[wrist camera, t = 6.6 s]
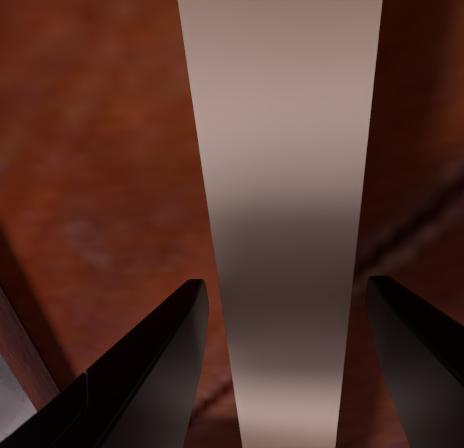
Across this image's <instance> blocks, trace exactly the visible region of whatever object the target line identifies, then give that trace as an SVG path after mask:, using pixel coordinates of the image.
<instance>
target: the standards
mask: <svg viewBox="0 0 464 448" xmlns="http://www.w3.org/2000/svg"><path fill="white" fill-rule="evenodd" d="M59 393H60V391H59V390H58V388H57V386H56V384H55V382H54V381H53V379H52V377H51V375H50V374H49V372H48V370H47V368H46V366H45V365H44V363H43V361H42V359H41V358H40V356H39V354H38V352H37V350H36V349H35V347H34V345H33V343H32V341H31V340H30V338H29V336H28V334H27V333H26V331H25V329H24V327H23V325H22V324H21V322H20V320H19V318H18V316H17V315H16V313H15V311H14V309H13V308H12V306H11V304H10V302H9V300H8V299H7V297H6V295H5V293H4V292H3V290H2V288H1V286H0V441H1V440H2V439H3V438H5V437H6V436H7V435H9V434H10V433H11V432H13V431H14V430H15V429H16V428H18V427H19V426H20V425H21V424H23V423H24V422H25V421H26V420H28V419H29V418H30V417H31V416H33V415H34V414H35V413H36V412H38V411H39V410H40V409H41V408H43V407H44V406H45V405H46V404H47V403H49V402H50V401H51V400H52V399H53V398H54V397H56V396H57V395H58V394H59Z"/></svg>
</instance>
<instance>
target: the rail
mask: <svg viewBox="0 0 464 448" xmlns="http://www.w3.org/2000/svg"><path fill="white" fill-rule="evenodd" d="M178 4H179V11H180V18H181V25H182V32H183V39H184V46H185V53H186V59H187V66H188V73H189V80H190V87H191V94H192V101H193V108H194V115H195V122H196V129H197V136H198V143H199V149H200V156H201V163H202V170H203V177H204V184H205V191H206V198H207V205H208V212H209V219H210V226H211V233H212V240H213V246H214V253H215V260H216V267H217V274H218V281H219V288H220V295H221V302H222V309H223V316H224V323H225V330H226V336H227V343H228V350H229V357H230V364H231V371H232V378H233V385H234V392H235V399H236V406H237V413H238V420H239V426H240V433H241V440H242V447H243V448H335V445H336V435H337V426H338V417H339V407H340V398H341V388H342V379H343V369H344V360H345V350H346V341H347V331H348V322H349V312H350V303H351V294H352V284H353V275H354V265H355V256H356V246H357V237H358V227H359V218H360V208H361V199H362V189H363V180H364V171H365V161H366V152H367V142H368V133H369V123H370V114H371V104H372V95H373V85H374V76H375V66H376V57H377V48H378V38H379V29H380V19H381V10H382V0H178Z"/></svg>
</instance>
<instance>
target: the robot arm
mask: <svg viewBox="0 0 464 448" xmlns="http://www.w3.org/2000/svg"><path fill="white" fill-rule="evenodd" d="M365 309H366V314H367V317H368V321H369V325H370V329H371V333H372V337H373V341H374V345H375V349H376V353H377V357H378V360H379V364H380V368H381V371H382V374H383V377H384V379H385V382H386V385H387V387H388V390H389V393H390V395H391V398H392V400H393V403H394V406H395V408H396V411H397V414H398V416H399V419H400V421H401V424H402V427H403V429H404V432H405V435H406V437H407V440H408V442H409V445H410V448H464V326H463V325H461V324H460V323H458V322H457V321H455V320H454V319H452V318H450V317H449V316H447V315H446V314H444V313H443V312H441V311H440V310H438V309H437V308H435V307H434V306H432V305H431V304H429V303H428V302H426V301H425V300H423V299H422V298H420V297H419V296H417V295H416V294H414V293H413V292H411V291H410V290H408V289H407V288H405V287H404V286H402V285H401V284H399V283H398V282H396V281H395V280H393V279H392V278H390V277H388V276H371V277H369V279H368V283H367V291H366V299H365ZM208 315H209V302H208V296H207V290H206V284H205V281H204V280H203V279H189V280H187V281H186V282H185V283H184V284H183V285H182V286H180V287H179V288H178V289H177V290H176V291H175V292H174V293H173V294H171V295H170V296H169V297H168V298H167V299H166V300H165V301H163V302H162V303H161V304H160V305H159V306H158V307H157V308H156V309H154V310H153V311H152V312H151V313H150V314H149V315H148V316H147V317H145V318H144V319H143V320H142V321H141V322H140V323H139V324H138V325H136V326H135V327H134V328H133V329H132V330H131V331H130V332H128V333H127V334H126V335H125V336H124V337H123V338H122V339H121V340H119V341H118V342H117V343H116V344H115V345H114V346H113V347H112V348H110V349H109V350H108V351H107V352H106V353H105V354H104V355H102V356H101V357H100V358H99V359H98V360H97V361H96V362H95V363H93V364H92V365H91V366H90V367H89V368H88V369H87V370H86V374H85V373H82V374H81V375H80V376H79V377H77V378H76V379H75V380H74V381H73V382H72V383H71V384H70V385H68V386H67V387H66V388H65V389H64V390H63V391H61V392H60V393H59V394H58V395H57V396H56V397H54V398H53V399H52V400H51V401H50V402H49V403H47V404H46V405H45V406H44V407H43V408H41V409H40V410H39V411H38V412H36V413H35V414H34V415H33V416H31V417H30V418H29V419H28V420H26V421H25V422H24V423H23V424H21V425H20V426H19V427H18V428H16V429H15V430H14V431H13V432H11V433H10V434H9V435H7V436H6V437H5V438H3V439H2V440H1V441H0V448H183V445H184V441H185V437H186V433H187V429H188V424H189V420H190V416H191V412H192V408H193V403H194V399H195V395H196V391H197V387H198V382H199V378H200V374H201V369H202V363H203V356H204V348H205V340H206V331H207V323H208Z"/></svg>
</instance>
